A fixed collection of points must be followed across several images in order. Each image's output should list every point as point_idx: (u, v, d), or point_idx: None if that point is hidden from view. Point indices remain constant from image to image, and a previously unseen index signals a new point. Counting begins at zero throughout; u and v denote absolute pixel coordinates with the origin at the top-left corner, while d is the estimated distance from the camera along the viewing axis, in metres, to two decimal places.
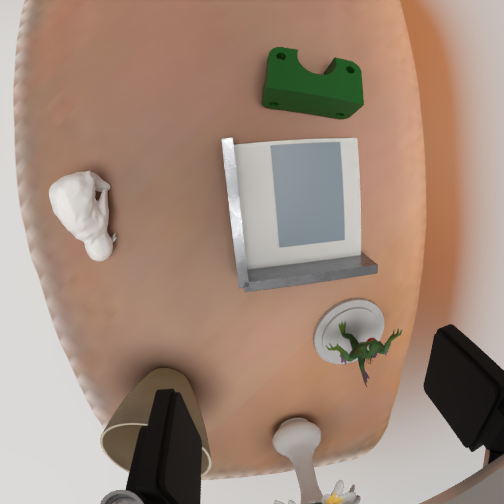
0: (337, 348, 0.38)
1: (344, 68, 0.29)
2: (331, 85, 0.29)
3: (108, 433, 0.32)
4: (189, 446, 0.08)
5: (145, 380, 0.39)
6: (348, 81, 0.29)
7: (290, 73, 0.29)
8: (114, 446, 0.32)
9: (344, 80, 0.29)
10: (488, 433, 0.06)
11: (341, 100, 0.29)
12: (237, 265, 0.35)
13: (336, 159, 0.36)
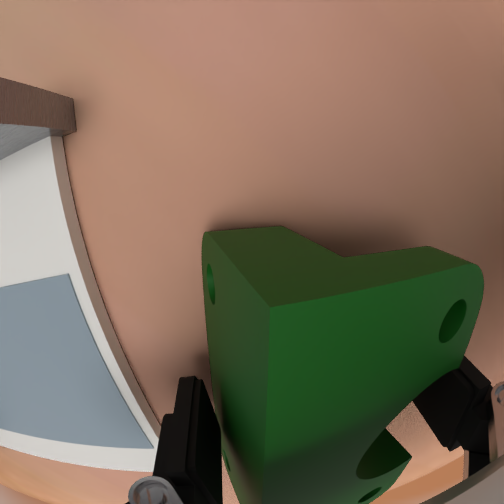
0: None
1: (374, 487, 0.08)
2: (312, 502, 0.06)
3: None
4: (212, 433, 0.08)
5: None
6: None
7: (372, 393, 0.05)
8: None
9: None
10: (464, 433, 0.06)
11: None
12: None
13: (107, 437, 0.11)
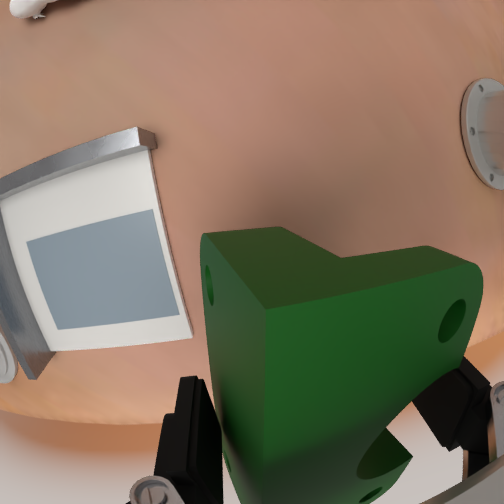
0: None
1: (375, 487, 0.08)
2: (313, 502, 0.06)
3: None
4: (212, 432, 0.08)
5: None
6: None
7: (371, 394, 0.05)
8: None
9: None
10: (463, 433, 0.06)
11: None
12: None
13: (152, 310, 0.24)
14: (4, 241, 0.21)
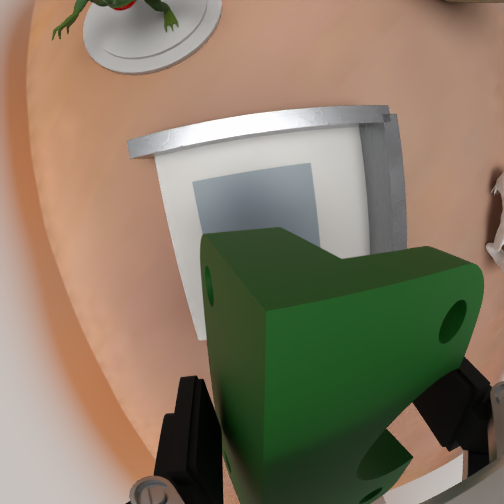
0: None
1: (376, 487, 0.08)
2: (313, 503, 0.06)
3: None
4: (212, 432, 0.08)
5: (483, 2, 0.14)
6: None
7: (371, 395, 0.05)
8: None
9: None
10: (463, 433, 0.06)
11: None
12: (400, 154, 0.18)
13: None
14: (316, 129, 0.21)
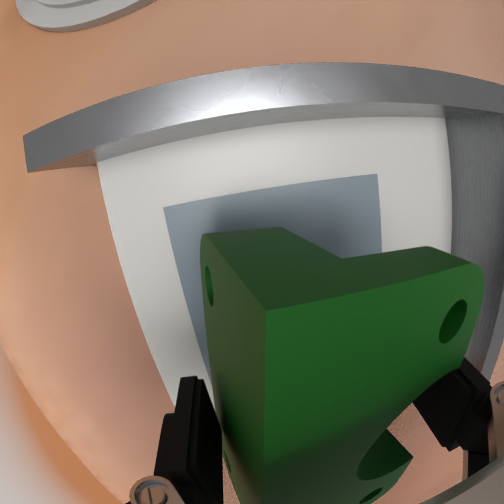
0: None
1: (376, 488, 0.08)
2: (313, 503, 0.06)
3: None
4: (212, 432, 0.08)
5: None
6: None
7: (371, 395, 0.05)
8: None
9: None
10: (463, 433, 0.06)
11: None
12: None
13: None
14: (389, 115, 0.11)
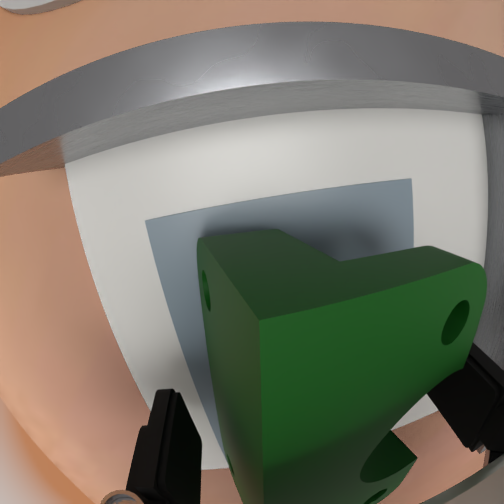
0: None
1: (380, 489, 0.08)
2: None
3: None
4: (189, 446, 0.08)
5: None
6: None
7: (372, 400, 0.05)
8: None
9: None
10: (488, 433, 0.06)
11: None
12: None
13: None
14: (426, 107, 0.08)
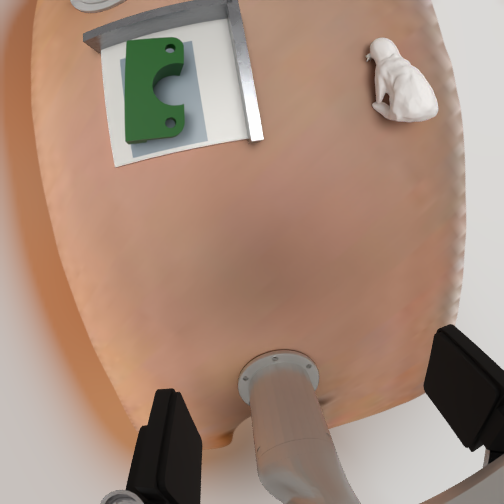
0: None
1: (170, 115, 0.27)
2: (140, 101, 0.25)
3: None
4: (189, 446, 0.08)
5: None
6: (152, 120, 0.26)
7: (147, 58, 0.24)
8: None
9: (152, 115, 0.26)
10: (488, 433, 0.06)
11: None
12: (239, 17, 0.24)
13: None
14: (194, 21, 0.27)
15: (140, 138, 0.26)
